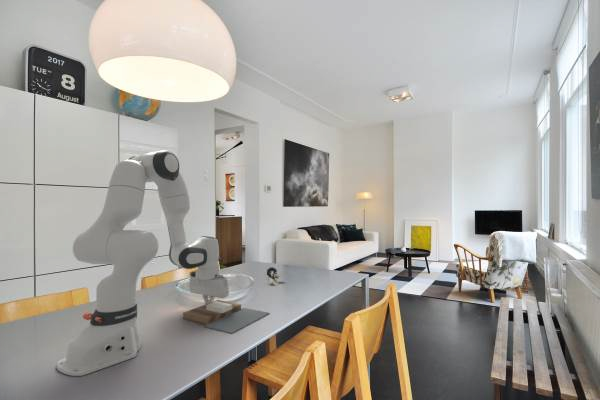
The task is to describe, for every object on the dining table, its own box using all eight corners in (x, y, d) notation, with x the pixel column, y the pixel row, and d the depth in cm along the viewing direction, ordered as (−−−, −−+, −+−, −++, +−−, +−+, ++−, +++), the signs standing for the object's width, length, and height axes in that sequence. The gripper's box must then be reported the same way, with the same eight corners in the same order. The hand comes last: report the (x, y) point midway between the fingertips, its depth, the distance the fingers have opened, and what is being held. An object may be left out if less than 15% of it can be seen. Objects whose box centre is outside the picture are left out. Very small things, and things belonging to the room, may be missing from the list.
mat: (231, 334, 115) (231, 332, 115) (204, 326, 122) (204, 325, 122) (269, 313, 136) (269, 312, 136) (243, 308, 143) (243, 307, 143)
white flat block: (222, 313, 129) (222, 308, 129) (206, 309, 134) (206, 305, 134) (232, 309, 135) (232, 304, 135) (216, 305, 139) (216, 301, 139)
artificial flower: (279, 278, 205) (283, 264, 204) (276, 292, 183) (281, 276, 182) (265, 275, 205) (269, 260, 204) (261, 288, 183) (266, 272, 182)
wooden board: (207, 325, 123) (207, 318, 124) (183, 318, 130) (183, 312, 130) (241, 309, 141) (241, 304, 141) (217, 305, 148) (217, 299, 148)
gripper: (232, 274, 135) (232, 306, 135) (197, 269, 145) (197, 300, 145) (221, 277, 129) (221, 311, 129) (186, 272, 139) (186, 303, 139)
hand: (208, 305), depth 137 cm, fingers closed
